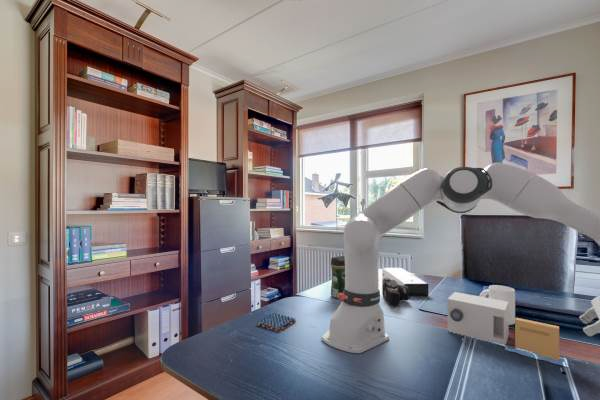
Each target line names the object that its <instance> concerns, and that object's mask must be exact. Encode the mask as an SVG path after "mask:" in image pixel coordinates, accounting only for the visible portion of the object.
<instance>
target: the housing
mask: <svg viewBox="0 0 600 400" xmlns="http://www.w3.org/2000/svg"><path fill="white" fill-rule="evenodd" d="M446 300H447V305H446V306H447V307H446V308H447V313H446V314H447V315H446V316H447V317H446V318H447V325H446V327H447V330H446V331H447V332H448V331H449V332H448V333H451V332H453V333H452V334H455V333H457V334H456V335H459V334H461V335H460V336H463V335H465V336H464V337H466V336H470V337H475V338H480V339H483V340H489V341H493V342H497V343H502V344H506V345H507V342H508V339H509V337H510V336H509V335H510V334H509V329H510V328H509V326H510V325H509V309H508V302H507V301H502V300H496V299H491V298H489V297H480V295H473V294H468V293H462V292H458V291H454V292H453V293H452V294H451V295H449V297H448V298H447V299H446ZM470 337H469V338H470Z"/></svg>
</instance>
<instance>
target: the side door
mask: <svg viewBox="0 0 600 400" xmlns="http://www.w3.org/2000/svg"><path fill="white" fill-rule="evenodd" d="M514 326H515V328H514V330H515V331H514V332H515V333H514V334H515V339H514V341H515V342H514V343H515V348H520V349H524V350H528V351H533V352H535V353H537V354H540V355H541V356H545V357H549V358H553V359H556V360H560V326H558V325H555V324H549V323H544V322H539V321H534V320H529V319H524V318H521V317H520V318H519V317H515V324H514ZM515 348H514V349H515Z"/></svg>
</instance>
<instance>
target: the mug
mask: <svg viewBox="0 0 600 400" xmlns="http://www.w3.org/2000/svg"><path fill="white" fill-rule="evenodd" d="M479 296H480V297H485V298H487V296H488V298H491V299H496V300H502V301H507V302H508V309H509V326H513V325H515V319H516V290H515V288H513V287H510V286H507V285H506V286H505V285H499V284H491V285H489V286H488V288H487V289H485V290H483V291H481V292H480V294H479Z"/></svg>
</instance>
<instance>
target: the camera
mask: <svg viewBox="0 0 600 400" xmlns="http://www.w3.org/2000/svg"><path fill="white" fill-rule="evenodd" d="M381 283H382V287H381V289H382V292H381V293H382V298H383V299H384V300H385V301H386V302H387V304H388V306H389V307H391V308H398V306H400V303H401V302H402V301H404V302H406V301H409V300H410V297H411V296H410V292H409V288H408V287H407V286H405V285H398V283H397V282H396V281H395V280H394V279H390V278H387V277H385V278H383V277H382V281H381Z"/></svg>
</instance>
